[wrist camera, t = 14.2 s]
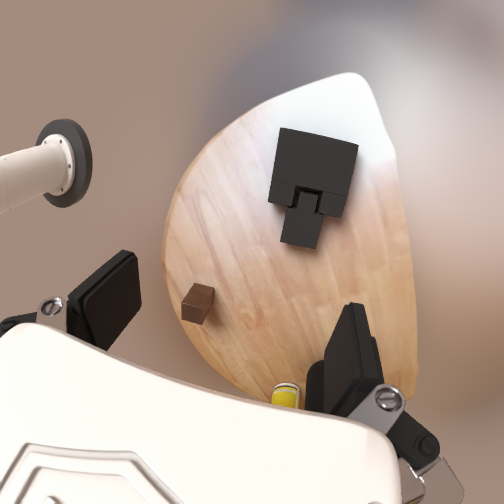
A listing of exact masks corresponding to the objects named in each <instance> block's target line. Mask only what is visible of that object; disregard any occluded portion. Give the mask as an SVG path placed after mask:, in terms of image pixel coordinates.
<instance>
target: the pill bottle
mask: <svg viewBox="0 0 504 504" xmlns="http://www.w3.org/2000/svg"><path fill="white" fill-rule="evenodd" d="M271 404H274V405H279V406H284V407H289V408H295V409H299V404H300V389H299V387H298V386H296V385H295V384H292V383H281V384H278V385H276V386H275V387H274V389H273V393H272V399H271Z"/></svg>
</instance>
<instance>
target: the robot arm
mask: <svg viewBox="0 0 504 504" xmlns="http://www.w3.org/2000/svg"><path fill="white" fill-rule="evenodd" d="M74 176H75V157H74V152H73V149H72V147H71V145H70V143H69V141H68V140H67V139H66V138H65V137H64V136H62V135H60V134H53V135H50V136H48V137H47V138H45V140H44V141H43V142H42V144H41V145H39V146H35V147H32V148H28V149H24V150H21V151H17V152H14V153H10V154H7V155H4V156H1V157H0V214H2V213H4V212H6V211H8V210H10V209H12V208H14V207H16V206H18V205H20V204H22V203H25V202H27V201H29V200H31V199H33V198H35V197H38V196H40V195H42V194H45V193H47V192H49V193H50V194H52V195H55V196H59V195H62V194H64V193H66V192H67V191H68V190H69V189H70V187H71V185H72V183H73V180H74ZM68 298H69V300H68V301H67V302H66V301H65V299H63V298H62V297H57V296H56V297H49V298H47V299H45V300H44V301H42V302H41V303H40V305H39V307H38V311H37V312H35V313H29V314H24V315H18V316H13V317H9V318H6V319H4V320H3V321H2V322H1V323H0V504H401V501H402V499H401V495H402V498H403V501H402V504H461V502H462V501H463V497H464V489H463V486H462V485H461V483H460V482H459V480H458V479H457V477H456V476H455V474H454V472H453V471H452V469H451V468H450V466H449V465H448V463H447V462H446V461H445V459H444V458H442V459H440V457H439V456H438V455H439V453H440V445H439V442H438V440H437V438H436V437H435V436H434V435H433V434H432V433H430V432H429V431H428V430H427V429H426V428H424V427H423V426H422V425H421V424H419V423H418V422H417V421H416V420H415V419H414V418H412V417H411V416H410V415H409V414H408V413H406V412H405V411H404V408H405V404H406V400H405V397H404V395H403V393H402V392H401V391H400V390H399V389H398V388H397V387H395V386H393V385H390V384H385V383H384V378H383V372H382V367H381V362H380V357H379V352H378V348H377V343H376V339H375V338H374V337H372V336H371V334H370V330H369V325H368V321H367V316H366V312H365V308H364V305H363V304H359V303H353V302H350V303H349V305H345V306H344V308H343V310H342V313H341V315H340V317H339V320H338V322H337V324H336V327H335V329H334V331H333V334H332V336H331V338H330V340H329V342H328V345H327V347H326V349H325V353H324V413H319V412H313V411H306V410H300V409H295V408H289V407H284V406H279V405H274V404H269V403H264V402H259V401H255V400H250V399H246V398H242V397H237V396H233V395H229V394H226V393H222V392H218V391H215V390H211V389H208V388H204V387H201V386H198V385H194V384H191V383H188V382H185V381H182V380H179V379H176V378H173V377H170V376H167V375H164V374H161V373H158V372H156V371H153V370H150V369H148V368H145V367H142V366H140V365H138V364H135V363H132V362H130V361H127V360H125V359H123V358H120V357H118V356H116V355H113V354H111V353H109V352H107V350H108V349H109V348H110V346H111V345H112V344H113V343H114V341H115V340H116V339H117V337H118V336H119V335H120V334H121V332H122V331H123V330H124V328H125V327H126V326H127V325H128V323H129V322H130V321H131V320H132V318H133V317H134V316H135V315H136V313H137V312H138V311H139V310H140V307H141V304H142V302H141V293H140V282H139V271H138V259H137V257H136V256H135V254H134V253H133V252H130V251H126V250H121V251H120V252H119V253H117V254H116V255H115V256H114V257H112V258H111V259H110V260H109V261H107V262H106V263H105V264H104V265H102V266H101V267H100V268H99V269H98V270H96V271H95V272H94V273H93V274H92V275H91V276H89V277H88V278H87V279H86V280H85V281H83V282H82V283H81V284H80V285H79V286H78V287H77V288H75V289H74V290H73V291H72V292H71V293H70V294H69V295H68Z"/></svg>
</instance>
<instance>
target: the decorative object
mask: <svg viewBox="0 0 504 504" xmlns="http://www.w3.org/2000/svg"><path fill="white" fill-rule="evenodd" d="M304 410H306V411H313V412H319V413H324V360H321V361H318V362H316V363H315V364H313V365H312V366H311V368H310V369H309V371H308V374H307V381H306V396H305V408H304Z"/></svg>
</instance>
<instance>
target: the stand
mask: <svg viewBox="0 0 504 504" xmlns="http://www.w3.org/2000/svg"><path fill="white" fill-rule="evenodd" d="M213 293H214V288H213V287H208V286H204V285H201V284H197V283H194V285H193V286H192V288H191V289H190V291H189V292H188V294H187V295H186V297H185V298H184V300H183V301H182V303H181V312H182V320H186V321H189V322H193V323H196V324H200V325H202V324H203V322H204V320H205V318H206V316H207V314H208V312H209V310H210V308H211V306H212V304H213Z"/></svg>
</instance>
